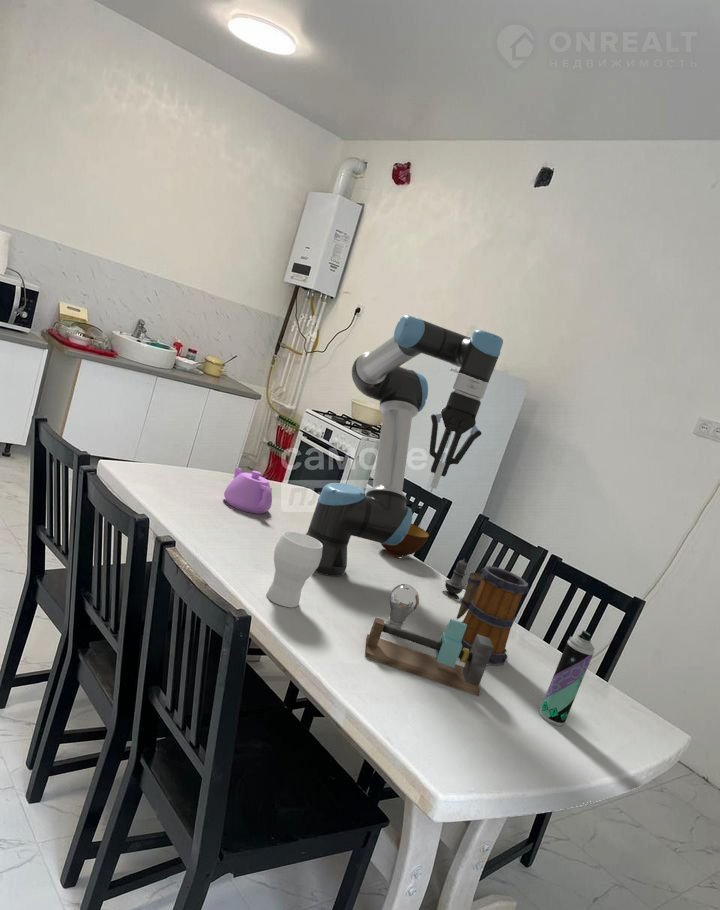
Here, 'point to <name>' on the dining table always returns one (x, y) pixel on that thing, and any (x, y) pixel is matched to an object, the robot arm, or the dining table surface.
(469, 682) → the wooden axle stand
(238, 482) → the teapot
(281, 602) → the cup
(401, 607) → the light bulb
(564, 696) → the spray can
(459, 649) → the sleeve
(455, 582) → the salt shaker
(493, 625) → the mug
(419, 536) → the bowl
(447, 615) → the dining table surface
